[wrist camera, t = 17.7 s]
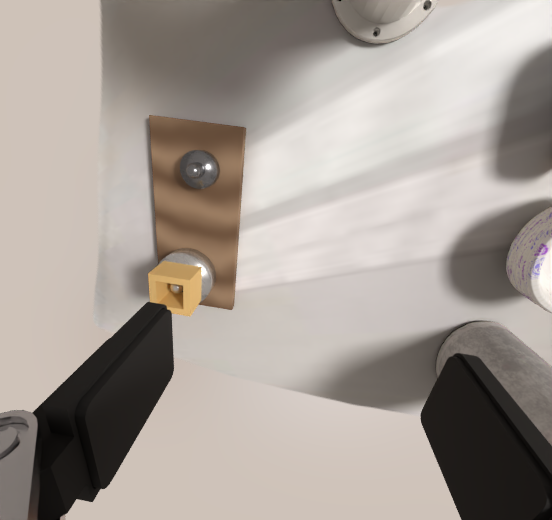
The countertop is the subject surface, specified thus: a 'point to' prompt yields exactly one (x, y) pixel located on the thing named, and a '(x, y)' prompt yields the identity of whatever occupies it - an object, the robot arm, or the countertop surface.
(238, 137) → the board
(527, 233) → the paper bowls
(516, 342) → the grey bottle
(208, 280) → the hub
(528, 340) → the countertop surface
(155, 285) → the hollow square block
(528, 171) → the countertop surface
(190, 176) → the round drawer knob
